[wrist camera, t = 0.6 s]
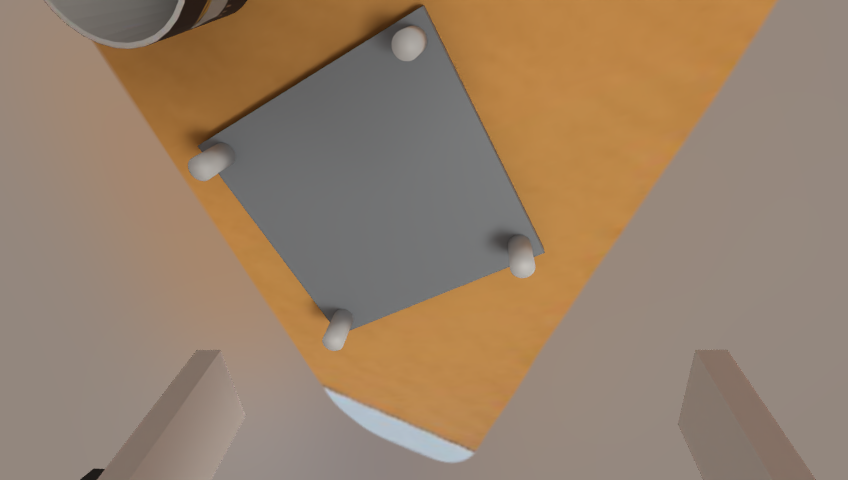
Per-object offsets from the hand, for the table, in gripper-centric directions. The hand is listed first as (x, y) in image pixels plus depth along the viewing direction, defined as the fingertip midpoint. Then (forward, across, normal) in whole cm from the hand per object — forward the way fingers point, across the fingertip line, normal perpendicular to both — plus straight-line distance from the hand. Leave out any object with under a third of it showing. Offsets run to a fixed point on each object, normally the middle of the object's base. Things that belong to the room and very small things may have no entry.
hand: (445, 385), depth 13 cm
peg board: (+24, -7, -4) cm, 26 cm away
